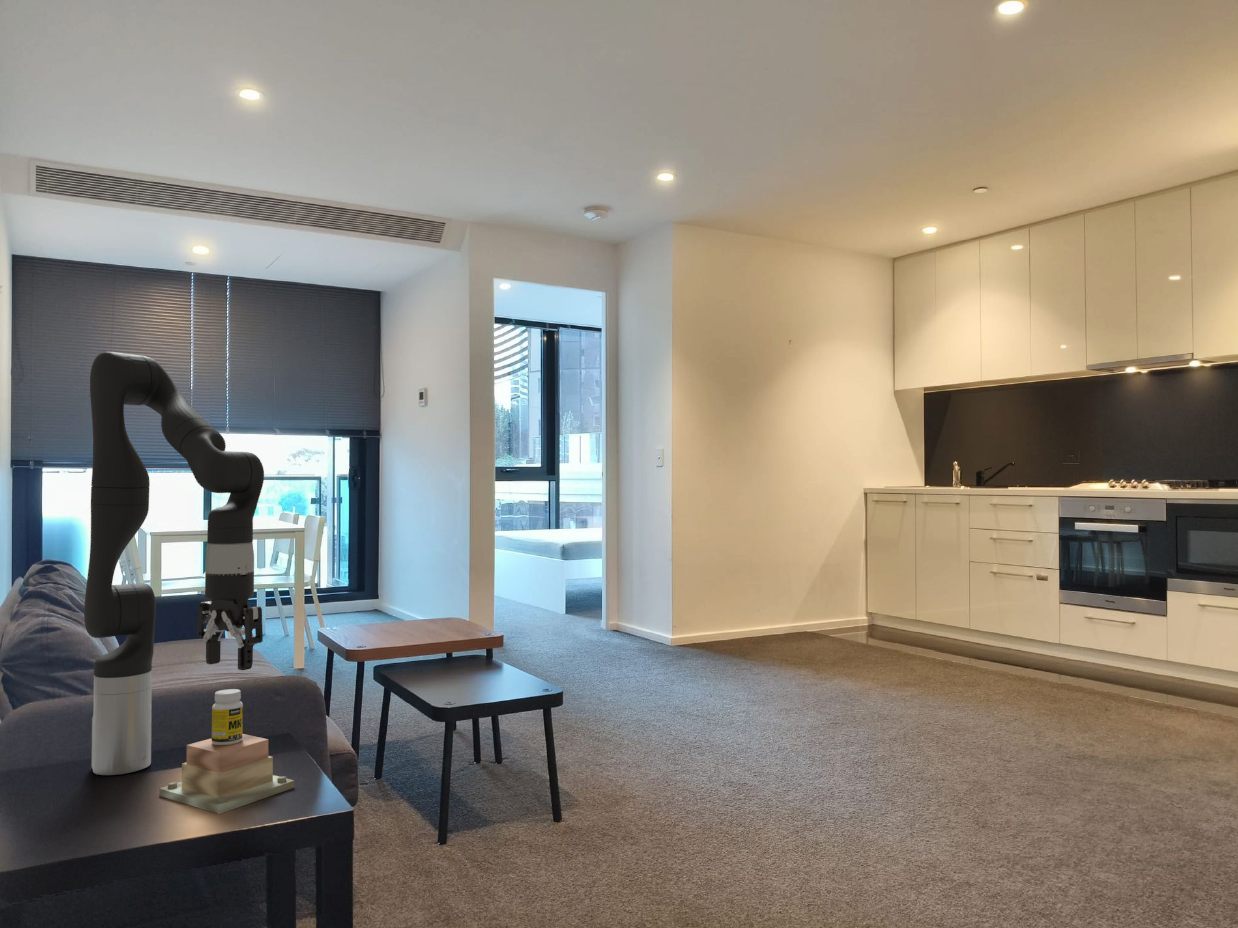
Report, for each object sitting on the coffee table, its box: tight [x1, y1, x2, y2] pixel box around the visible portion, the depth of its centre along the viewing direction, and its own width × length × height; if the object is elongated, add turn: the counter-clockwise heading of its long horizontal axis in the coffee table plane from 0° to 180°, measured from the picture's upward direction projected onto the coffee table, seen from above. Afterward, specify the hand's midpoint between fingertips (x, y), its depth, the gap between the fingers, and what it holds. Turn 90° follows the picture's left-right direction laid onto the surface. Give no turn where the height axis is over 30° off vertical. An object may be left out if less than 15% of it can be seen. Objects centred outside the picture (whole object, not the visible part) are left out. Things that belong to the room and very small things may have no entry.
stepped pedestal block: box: [158, 733, 295, 815], centre depth 147 cm, size 16×14×8 cm
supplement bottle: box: [211, 688, 244, 745], centre depth 147 cm, size 5×5×8 cm
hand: (228, 666), depth 147 cm, fingers open, 8 cm apart
